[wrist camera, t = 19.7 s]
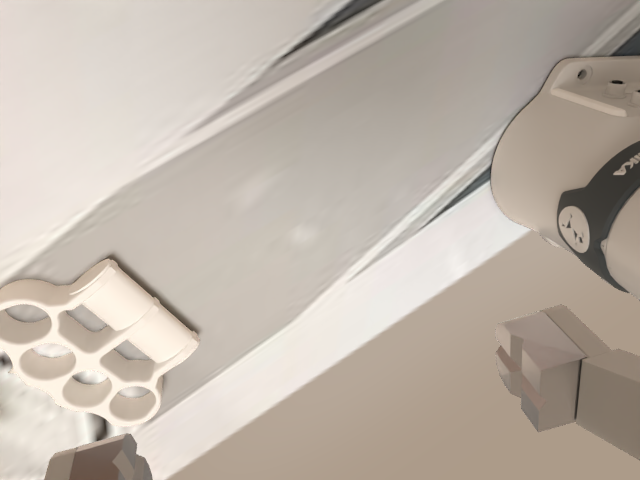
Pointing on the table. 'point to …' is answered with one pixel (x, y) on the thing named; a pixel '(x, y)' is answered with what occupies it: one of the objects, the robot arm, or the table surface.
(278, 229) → the table surface
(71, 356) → the knuckle duster
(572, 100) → the robot arm
